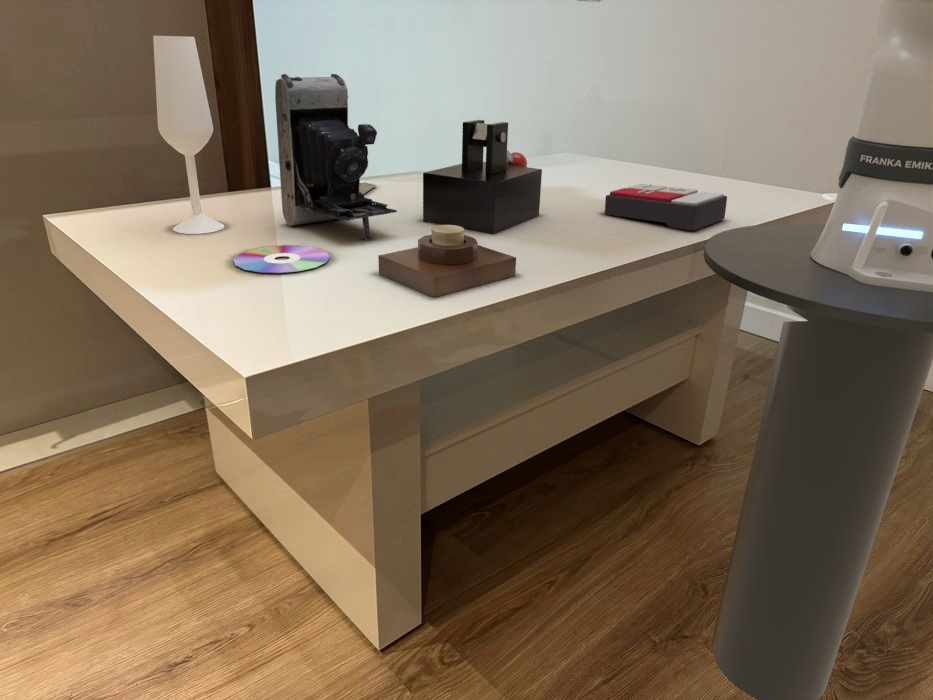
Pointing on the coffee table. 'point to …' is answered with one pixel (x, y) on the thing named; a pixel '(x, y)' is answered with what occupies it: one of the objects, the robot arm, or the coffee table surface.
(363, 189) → the map
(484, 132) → the red-knobbed metal lever
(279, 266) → the cd
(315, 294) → the coffee table surface
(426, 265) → the block
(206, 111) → the champagne flute
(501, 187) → the lever stand
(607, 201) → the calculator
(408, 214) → the coffee table surface
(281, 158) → the vintage camera
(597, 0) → the robot arm
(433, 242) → the timer button
